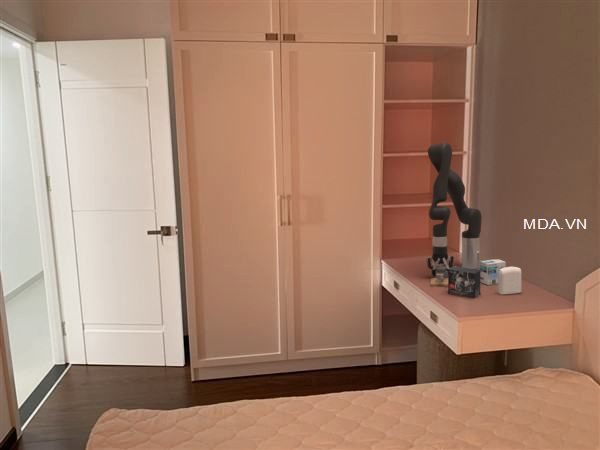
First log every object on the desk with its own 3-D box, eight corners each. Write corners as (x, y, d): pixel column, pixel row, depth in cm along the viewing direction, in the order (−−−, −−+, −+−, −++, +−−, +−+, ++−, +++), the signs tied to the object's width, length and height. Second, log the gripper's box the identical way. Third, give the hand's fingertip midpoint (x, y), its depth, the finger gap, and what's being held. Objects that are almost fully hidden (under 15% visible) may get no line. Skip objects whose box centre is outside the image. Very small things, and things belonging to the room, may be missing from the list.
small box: (447, 293, 225) (447, 269, 223) (454, 290, 230) (453, 265, 228) (475, 298, 216) (475, 273, 214) (481, 294, 221) (481, 269, 219)
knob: (443, 275, 254) (443, 263, 253) (447, 279, 248) (447, 265, 247) (432, 276, 253) (432, 263, 252) (436, 279, 248) (436, 266, 246)
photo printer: (501, 295, 218) (501, 269, 216) (496, 292, 222) (496, 266, 220) (522, 293, 219) (523, 267, 217) (517, 290, 223) (518, 265, 221)
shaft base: (453, 280, 244) (453, 271, 244) (453, 287, 234) (453, 277, 233) (431, 280, 248) (430, 271, 247) (430, 286, 237) (430, 277, 237)
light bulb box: (487, 285, 234) (487, 264, 232) (478, 281, 240) (479, 261, 239) (506, 282, 237) (506, 261, 235) (497, 279, 243) (497, 258, 241)
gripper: (450, 242, 252) (450, 273, 255) (423, 244, 251) (424, 275, 254) (456, 245, 244) (456, 276, 247) (428, 247, 244) (428, 278, 246)
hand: (440, 275), depth 250 cm, fingers closed on knob, 6 cm apart
